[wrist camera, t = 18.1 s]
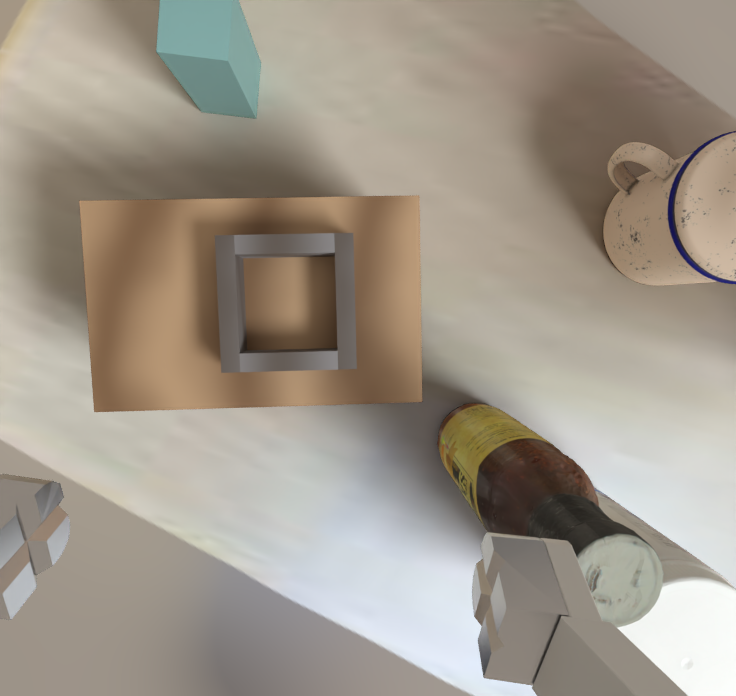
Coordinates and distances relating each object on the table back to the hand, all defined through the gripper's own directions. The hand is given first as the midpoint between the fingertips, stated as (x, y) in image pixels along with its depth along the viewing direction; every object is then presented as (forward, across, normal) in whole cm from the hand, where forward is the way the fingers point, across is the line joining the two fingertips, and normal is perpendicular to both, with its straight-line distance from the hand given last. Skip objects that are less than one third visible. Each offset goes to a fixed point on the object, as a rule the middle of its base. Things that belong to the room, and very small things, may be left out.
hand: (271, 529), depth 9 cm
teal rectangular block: (+33, +11, -8) cm, 36 cm away
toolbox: (+28, +6, +6) cm, 29 cm away
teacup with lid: (+33, -21, -2) cm, 39 cm away
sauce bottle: (+26, -10, +15) cm, 32 cm away
